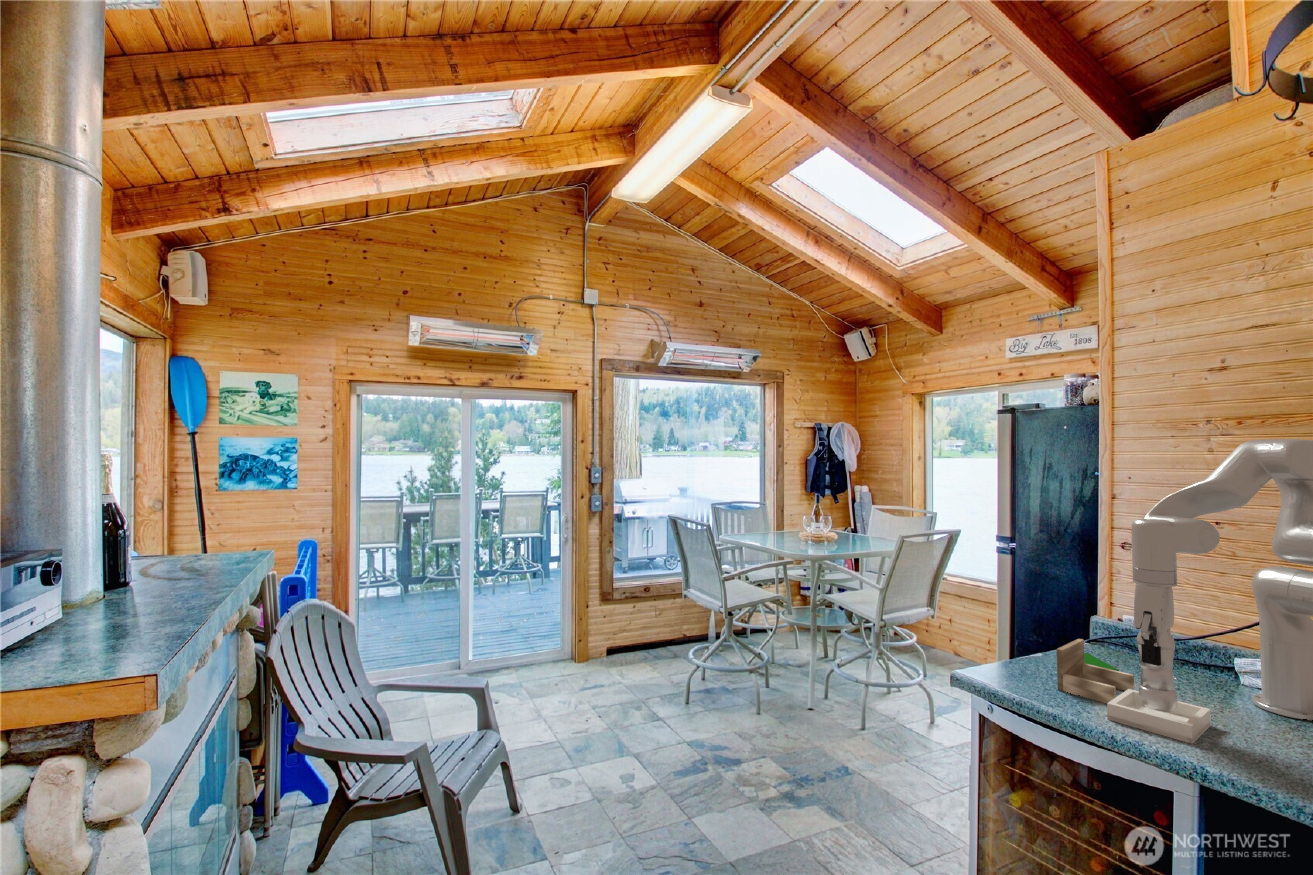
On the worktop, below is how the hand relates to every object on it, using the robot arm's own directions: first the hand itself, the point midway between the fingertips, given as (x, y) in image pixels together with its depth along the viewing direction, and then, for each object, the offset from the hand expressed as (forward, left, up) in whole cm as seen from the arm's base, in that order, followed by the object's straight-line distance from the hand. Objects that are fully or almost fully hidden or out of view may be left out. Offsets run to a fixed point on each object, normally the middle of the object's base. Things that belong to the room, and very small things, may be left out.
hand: (1156, 659), depth 135 cm
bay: (+14, -10, -13) cm, 22 cm away
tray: (0, 0, -13) cm, 13 cm away
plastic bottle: (0, 0, -11) cm, 11 cm away
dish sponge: (+22, -27, -14) cm, 38 cm away
